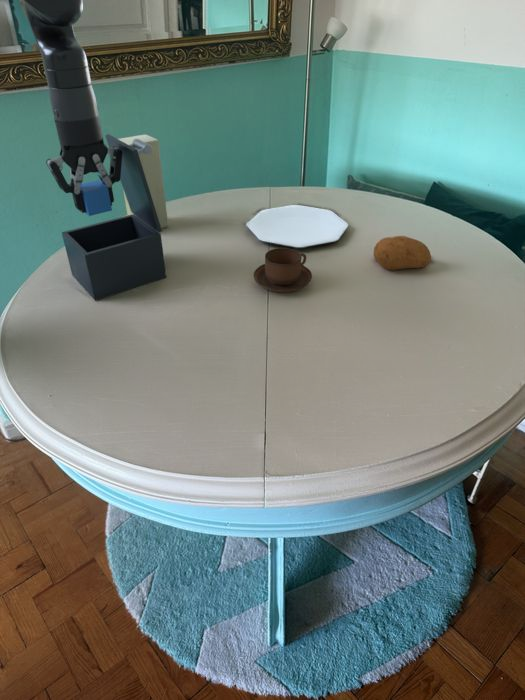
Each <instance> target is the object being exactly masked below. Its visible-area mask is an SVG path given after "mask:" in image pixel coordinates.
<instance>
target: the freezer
mask: <svg viewBox="0 0 525 700" xmlns="http://www.w3.org/2000/svg"><path fill="white" fill-rule="evenodd" d="M61 236H62V240H63V243H64V249H65V252H66V256H67V260H68V265H69V268H70V271H71V276H72V277H73V278H74V279H75V280H76V281H77V283H79V284H80V286H81V287H82V288H83V289H84V290H85V291H86V292H87V294H88V295H89V296H90V297H91V298H92V299H93V300H94V301H95V302H97V301H98V300H99V301H100V300H102V299H105V298H109V297H111V296H114V295H117V294H121V293H123V292H126V291H129V290H132V289H135V288H139V287H141V286H145V285H148V284H151V283H154V282H157V281H160V280H163V279H166V278H167V271H166V264H165V256H164V249H163V242H162V241H163V239H162V234H161V232H157V231H156V230H154V229H153V228H152V227H150V226H149V225H148V224H146V223H145V222H144V221H142V220H141V219H140V218H138V217H137V216H135V215H134V214H132V215H125V216H119V217H117V218H112V219H109V220H105V221H101V222H96V223H92V224H89V225H85V226H81V227H76V228H74V229H68V230H65V231H61Z"/></svg>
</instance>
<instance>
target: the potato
mask: <svg viewBox="0 0 525 700" xmlns="http://www.w3.org/2000/svg"><path fill="white" fill-rule="evenodd" d="M373 256H374V258H375V261H376V263H377V264H379V266H381V267H382V268H383V269H385V270H388V271H395V270H403V269H422V268H425V267H427V266H429V264H430V263H431V261H432V255H431V251H430V249H429V247H428V246H427V245H426V244H425V243H423V242H422V241H420V240H417V239H414V238H412V237H408V236H405V235H396V236H387V237H384V238H381V239H379V241H377V243H376V244H375V246H374V247H373Z"/></svg>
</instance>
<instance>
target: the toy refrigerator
mask: <svg viewBox="0 0 525 700" xmlns="http://www.w3.org/2000/svg"><path fill="white" fill-rule="evenodd" d="M117 139H118V140H120V141H122V142H124V143H126V144H128V145H130V144H132V143H133V140H135V139H139V140H141V141H143V142H145V143H147V144H149V145H151V147H152V152H151V153H150V154H145V153H142V154H140V155H139V158H140V161H141V164H142V167H143V171H144V174H145V177H146V180H147V184H148V187H149V190H150V193H151V197H152V200H153V203H154V206H155V210H156V213H157V216H158V219H159V222H160V226H161V229H165V228H168V227H169V221H168V211H167V203H166V195H165V187H164V176H163V168H162V167H163V165H162V157H161V149H160V142H159V139H157V138H155V137H153V136H150V135H148V134H139V135H134V136H133V135H132V136H127V137H121V138H117ZM135 149H136V148H135ZM137 150H138V149H137ZM122 191H123V195H124V196H123V197H124V202H125V209H126V216H128V215H132V214H133V213H132V212H131V209H130V206H129V203H128V201H127V198H126V195H125V192H124V189H123V188H122ZM135 216H136V215H135ZM146 224H147V223H146ZM150 227H151V226H150ZM154 230H155V229H154Z"/></svg>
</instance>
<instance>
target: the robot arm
mask: <svg viewBox="0 0 525 700" xmlns="http://www.w3.org/2000/svg"><path fill="white" fill-rule="evenodd" d="M83 1H84V0H22V2H23V8H24V10H25V15H26V17H27V21H28V24H29V26H30V29H31V31H32V34H33V38H34V39H35V42H36V45H37V47H38V49H39V52H40V54H41V59H42V65H43V70H44V75H45V79H46V82H47V88H48V95H49V102H50V107H51V112H52V115H53V119H54V124H55V128H56V129H55V130H56V133H57V136H58V142H59V145H60V151H59V155H58V156H55V157H53V158H52V159H51V158H47V159H46V160H45V164H46V166H47V168H48V169H49V172H50V173H51V175H52V176H53V178H54V180H55V182H56V183H57V186H58V187H59V189H60V190H62V191H63V192H64V193H65V194H71V195H72V199H73V203H74V207H75V208H76V210H78V212H79V211H80V213H81V214H84V213H85V212H86V208H85V204H84V199H83V195H82V193H81V184H83V183H84V182H83V181H84V175H87V174H89V173H94V174H96V175H97V177H98V179H99V181H100V182H101V183H103V184H104V185H106V186H107V187H108V191H109V197H110V202H111V207H113V203H114V202H115V197H114V191H113V185H114V184H115V183H118V182H121V180H120V177H121V165H122V150H120V149H119V148H117V147H115V146H113V147H112V148H110V147H109V146H108V145H106V143H105V142H104V136H103V130H102V124H101V119H100V113H99V105H98V102H97V98H96V94H95V91H94V87H93V83H92V79H91V78H92V77H91V73H90V67H89V62H88V58H87V57H88V56H87V54H86V51H85V49H84V48H83V47H82V45H81V44H80V43H79V42H78V40H77V38H76V34H75V30H74V27H73V25H75V24H76V23H77V22H78V21H79V20H80V18H81V17H82V15H83V10H84V2H83ZM107 157H108V158H109V172H108V171H107V170H106V168H105V166H104V162H105V160H106V158H107ZM63 163H65V165H67V166H68V167H69V179H70V180H69V183H68V182H67V180H66V178H65V176H64V174H63V172H62V170H63V168H64V167H63ZM108 173H109V174H108ZM85 214H86V213H85Z"/></svg>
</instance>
